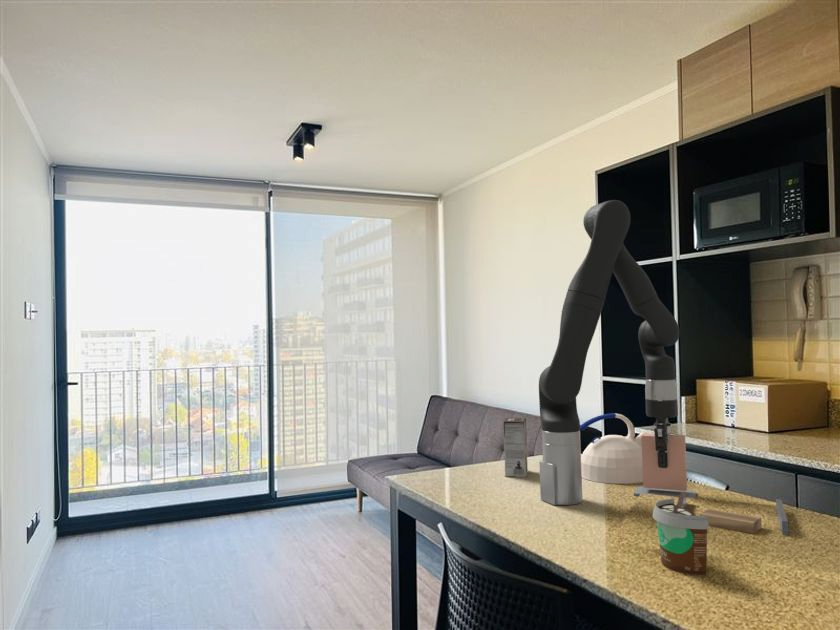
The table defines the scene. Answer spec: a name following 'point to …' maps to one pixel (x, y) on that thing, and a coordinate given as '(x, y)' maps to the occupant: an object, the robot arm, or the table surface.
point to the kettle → (613, 455)
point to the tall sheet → (676, 470)
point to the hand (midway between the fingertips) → (663, 465)
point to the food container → (681, 538)
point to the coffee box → (515, 447)
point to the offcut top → (732, 521)
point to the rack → (779, 510)
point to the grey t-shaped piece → (663, 492)
